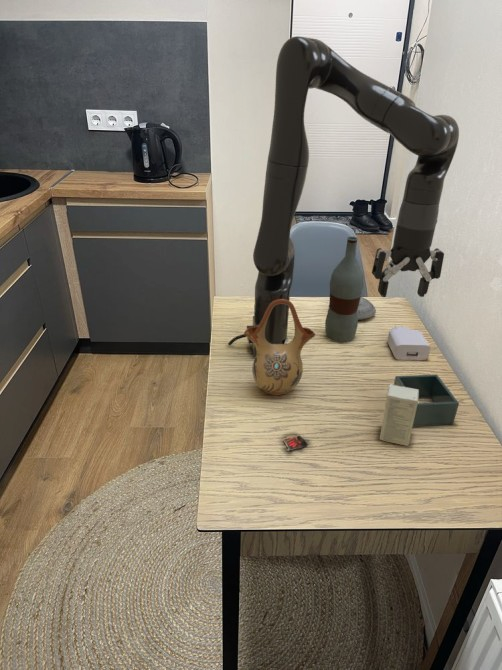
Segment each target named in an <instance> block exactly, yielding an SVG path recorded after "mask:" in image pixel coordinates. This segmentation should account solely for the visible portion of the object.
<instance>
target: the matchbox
mask: <svg viewBox="0 0 502 670" xmlns="http://www.w3.org/2000/svg"><path fill="white" fill-rule="evenodd" d="M282 440H283V443H284V444H285V446H286V447H287V448H286V451H287V452H288V453H290V451H293V450H297V449H301V448H304V447H306V446H309V444H308V442H307V441H306V439H305V438H304V437H302V436H301V435H296V434H294V433H292V434H289V435H287V436H286V437H284V438H282Z"/></svg>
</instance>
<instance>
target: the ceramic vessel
mask: <svg viewBox="0 0 502 670" xmlns="http://www.w3.org/2000/svg"><path fill="white" fill-rule="evenodd" d="M277 304H285V305H287V306H289V311H290V313H291V316H292V320H293V324H294V335H293V338H292V340H291V341H289V342H287V344H271V343H269V342H268V341H267V340H266V338H265V328H266V323H267V320H268V317H269V315H270V313H271V311H272V309H273V307H274V306H275V305H277ZM252 326H253V325H252ZM243 334H245V335H246V336H247V337H248V338H249V339H250V340H251V341H252V342H253V343H254V345H255V346H256V356H254V358H253V361H252V368H251V371H252V377H253V380H254V382H255V384H256V385H257V386H258V388H259V389H261V390H262V392H265V393H267V394H268V395H272V396H281V395H284V394H288V393H290V392H291V391H292V390H294V389H295V388H296V387H297V386H298V385H299V383H300V381H301V379H302V376H303V373H304V363H303V360H302V357H301V355H302V349H303V348H304V347H305V345H306V344H307V343H308V342H309V341H311V339H314V338H315V336H316V333H315V332H314V331H313V330H312V329H310V328H309V327H305V326H303V325H302V323H301V321H300V318H299V316H298V312H297V310H296V307H295V305H294V304H293V303H292V302H291V301H290V300H289V301H288V300H286V299H277V300H274V301H273V302H271V303H270V305H269V306H268V308H267V310H266V312H265V314H264V316H263V319H262V321H261V322H260V324H259V325H258V326H257V327H256V326H253V327H250V328H248V329H247V328H246V329H245V330H244V331H243ZM247 337H246V338H247ZM248 338H247V339H248Z"/></svg>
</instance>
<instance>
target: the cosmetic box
mask: <svg viewBox="0 0 502 670" xmlns="http://www.w3.org/2000/svg"><path fill="white" fill-rule="evenodd" d="M419 398H420V397H419V390H418V389H413V388H408V387H403V386H397V385H394V384H391V383H390V384H388V389H387V394H386V400H385V406H384V412H383V417H382V422H381V429H380V434H379V440H380V441H384V442H387V443H393V444H397V445H401V446H406V447H409V445H410V440H411V437H412V436H411V435H412V430H413V427H414V426H413V422H414V417H415V413H416V408H417V404H418V403H419Z"/></svg>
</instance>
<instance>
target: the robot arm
mask: <svg viewBox="0 0 502 670" xmlns="http://www.w3.org/2000/svg"><path fill="white" fill-rule="evenodd" d="M274 87H275V89H274V92H275V93H274V107H273V120H272V127H271V136H270V144H269V150H268V155H267V162H266V169H265V178H264V187H263V188H264V189H263V197H262V199H263V200H262V212H261V219H260V224H259V229H258V233H257V237H256V241H255V245H254V249H253V254H252V259H253V263H254V267H255V268H256V269H257V271H258V273H257V276H256V277H257V278H256V280H255V285H254V306H253V308H254V309H253V316H252V325H246V329H248V328H250V327H253V326H256V327H257V326H258V325H259V324H260V322H261V321H262V319H263V316H264V314H265V312H266V310H267V308H268V306H269V305H270V303H271V302H273V301H274V300H277V299H286V300H288V301H290V298H291V288H292V285H293V278H294V269H295V259H296V257H295V256H296V250H295V249H296V248H295V244H294V241H293V240H292V238H291V230H292V224H293V221H294V217H295V214H296V212H297V209H298V206H299V205H300V200H301V197H302V194H303V191H304V188H305V184H306V179H307V174H308V167H309V163H310V148H309V142H308V137H307V132H306V126H305V112H306V111H305V110H306V104H307V98H308V93H309V90H310V89H316V90H319V91H323V92H326V93H328V94H331V95H333V96H335V97H337V98H339V99H340V100H342V101H343V102H345V103H346V104H347V105H348V106H349V107H350V108H351V109H352V110H353V111H354V112H355V113H356V114H357V115H359V116H360V117H361V118H362V119H363V120H365V121H367V122H368V123H370V124H371V125H373V126H375V127H377V128H378V129H380V130H382V131H383V132H385V133H387V134H389V135H390V136H392V137H393V139H395V140H396V141H397V142H398V143H399V144H400V145H402V146H403V147H404V149H406V150H407V151H409V152H410V153H412V154H414V155H416V156H417V159H416V161H415V165H414V166H413V168H412V169H411V170H410V171H409V172H408V174H407V176H406V181H405V185H404V191H403V195H402V201H401V204H400V207H399V211H398V215H397V222H396V226H395V231H394V236H393V245H392V247H391V249H390V250H388V249H387V250H386V249H382V248H381V247H379V248H377V249H376V252H375V257H374V260H373V261H374V262H373V265H372V270H371V274H372V276H373V277H374V278H375V279H376V280H379V282H378V287H377V292H378V294H379V295H380V296H381V297H382V298H387V293H388V288H389V283H390V282H389V280H390V279H391V278H392V277H393V276H395V275H397V274H398V273H399V272H408V271H410V272H416V271H418V272H419V273H420V275H421V277H420V278H419V283H418V287H417V292H416V293H417V295H418V296H419V297H420V298H424V297H425V295H427V293H428V292H429V287H430V283H431V281H432V280H435V279H436V280H439V279H440V278H441V273H442V268H443V264H444V258H445V253H444V252H443V251H442V250H440V248H438V247H437V248H435V249H432V250H431V247H432V245H433V240H434V236H435V230H436V226H437V223H438V218H439V211H440V202H441V198H442V194H443V190H444V185H445V184H444V183H445V180H446V179H445V178H446V176H447V174H448V171H449V169H450V167H451V164H452V161H453V159H454V156H455V154H456V150H457V147H458V143H459V138H460V128H459V125H458V123H457V121H456V119H455V118H454V117H453V116H450V115H447V114H437V115H432V114H430V113H427V112H425V111H424V110H422V109H420V108H418V107H417V106H416V103H415V101H414V100H413V99H411V98H410V97H409V96H407V95H405V94H403V93H402V92H399V91H398V90H396V89H394V88H392V87H390V86H389V85H386V84H385V83H383V82H381V81H379V80H377V79H375V78H373V77H371V76H369V75H367V74H365V73H364V72H362V71H360V70H359V69H357V68H356V67H355V66H353V65H352V64H350V63H349V62H348V61H346V60H345V59H344V58H342V56H340V55H339V54H338V53H337V52H336V51H334V50H333V49H332V48H331V47H330V46H329V45H328V44H326V43H325V42H324V41H322V40H320V39H317V38H313V37H307V36H306V37H305V36H299V35H298V36H297V35H296V36H291V37H290V38H288V39H287V40H286V41H285V42H284V43H283V44H282V46H281V48H280V50H279V54H278V56H277V61H276V69H275V86H274ZM389 257H390V259H391V260H389V262H388V263H386V265H385V262H386V261H388V258H389ZM429 259H431V266H430V271H429V270H428V268H427V266H426V264H425V263H426V262H427V261H428V260H429ZM384 265H385V268H384ZM289 312H290V308H289V306H287V305H285V304H277V305H275V306H274V307H273V309H272V311H271V313H270V315H269V317H268V320H267V323H266V328H265V338H266V340H267V341H268V342H269V343H271V344H288V341H289V336H288V327H289V314H290V313H289ZM243 338H247V343H248V344H249V345H250V344H251V347H252V353H253V356H254V357H255V356H256V346H255V345H254V343H253V342H252V341H251V340H250V339H249V338H248V337H247V336H246V335H245V334H244V333H243V334H239V335H237V336H235V337H233V338H232V339H231V340H230V341H229V342H228V343H227V345H228V346H232V345H233V344H234V343H235V342H236V341H238V340H240V339H243Z"/></svg>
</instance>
